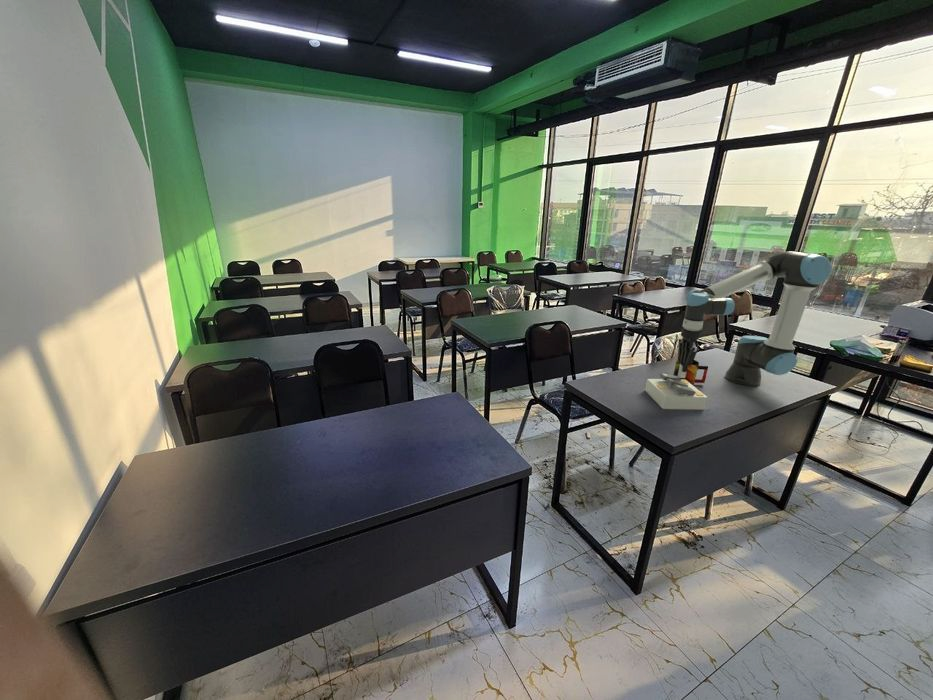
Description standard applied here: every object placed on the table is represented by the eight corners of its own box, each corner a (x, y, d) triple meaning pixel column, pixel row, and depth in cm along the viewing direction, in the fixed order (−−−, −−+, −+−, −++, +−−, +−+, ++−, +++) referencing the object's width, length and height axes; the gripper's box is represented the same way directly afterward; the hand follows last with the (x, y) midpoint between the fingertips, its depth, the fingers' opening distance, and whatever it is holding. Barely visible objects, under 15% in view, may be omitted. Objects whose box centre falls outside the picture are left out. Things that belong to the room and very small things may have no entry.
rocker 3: (689, 391, 173) (690, 387, 173) (693, 395, 170) (696, 391, 169) (672, 387, 173) (674, 383, 172) (676, 391, 169) (678, 387, 168)
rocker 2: (681, 385, 179) (683, 381, 178) (686, 389, 175) (688, 385, 175) (665, 381, 178) (667, 377, 178) (670, 385, 175) (671, 381, 174)
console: (682, 390, 188) (685, 378, 185) (704, 409, 171) (707, 395, 169) (645, 390, 188) (647, 377, 185) (663, 409, 171) (666, 395, 168)
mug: (704, 385, 194) (710, 362, 190) (683, 389, 190) (688, 366, 185) (687, 377, 203) (693, 355, 199) (667, 381, 198) (672, 359, 194)
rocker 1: (675, 379, 185) (677, 375, 184) (679, 383, 181) (681, 379, 180) (659, 376, 184) (661, 372, 183) (663, 380, 180) (665, 376, 180)
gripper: (675, 324, 180) (666, 371, 188) (691, 333, 167) (680, 383, 176) (692, 324, 180) (682, 371, 188) (708, 333, 168) (697, 383, 176)
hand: (681, 377), depth 182 cm, fingers closed
